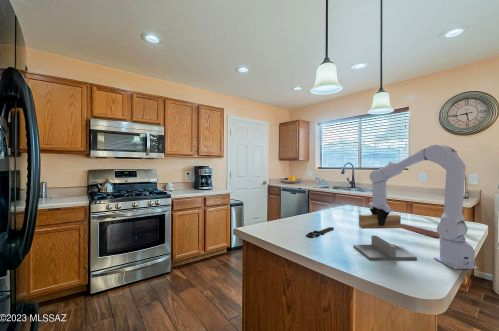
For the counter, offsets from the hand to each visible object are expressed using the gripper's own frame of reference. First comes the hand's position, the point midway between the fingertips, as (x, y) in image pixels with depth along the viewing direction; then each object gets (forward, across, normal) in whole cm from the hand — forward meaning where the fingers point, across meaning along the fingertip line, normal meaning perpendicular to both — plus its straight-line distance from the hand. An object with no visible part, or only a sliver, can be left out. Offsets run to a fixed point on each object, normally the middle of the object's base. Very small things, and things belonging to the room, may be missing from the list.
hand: (379, 224), depth 108 cm
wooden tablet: (+9, +18, -33) cm, 38 cm away
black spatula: (+9, +18, +22) cm, 29 cm away
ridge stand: (+8, -13, +6) cm, 17 cm away
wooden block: (+2, 0, 0) cm, 2 cm away
